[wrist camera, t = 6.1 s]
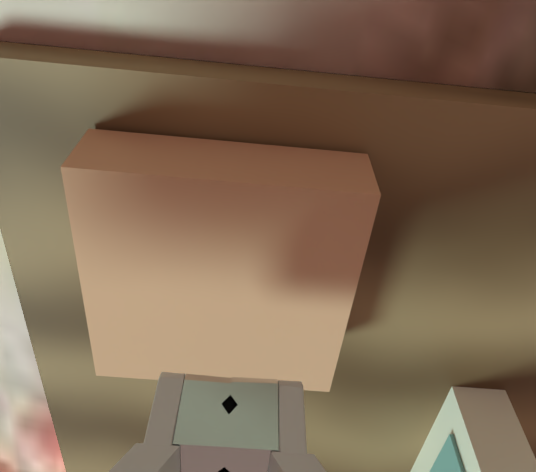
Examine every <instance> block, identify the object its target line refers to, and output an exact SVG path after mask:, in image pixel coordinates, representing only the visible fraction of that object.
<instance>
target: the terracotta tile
mask: <svg viewBox="0 0 536 472" xmlns="http://www.w3.org/2000/svg"><path fill="white" fill-rule="evenodd" d="M61 173H62V179H63V185H64V191H65V197H66V202H67V208H68V214H69V220H70V226H71V232H72V238H73V244H74V249H75V255H76V261H77V267H78V273H79V279H80V285H81V291H82V296H83V302H84V308H85V314H86V320H87V326H88V332H89V337H90V343H91V349H92V355H93V361H94V367H95V373H96V376H108V377H122V378H136V379H151V380H158V379H159V377H160V374H161V372H172V373H185V374H195V375H206V376H217V377H227V378H232V377H243V378H261V379H277V380H285V381H301V382H302V384H303V390H308V391H322V392H329V391H330V388H331V384H332V380H333V376H334V372H335V369H336V365H337V361H338V357H339V353H340V350H341V346H342V342H343V338H344V334H345V330H346V327H347V323H348V319H349V315H350V311H351V308H352V304H353V300H354V296H355V292H356V289H357V285H358V281H359V277H360V273H361V270H362V266H363V262H364V258H365V254H366V250H367V247H368V243H369V239H370V235H371V231H372V228H373V224H374V220H375V216H376V212H377V209H378V205H379V201H380V197H381V193H380V190H379V187H378V184H377V181H376V178H375V175H374V171H373V168H372V165H371V162H370V159H369V156H368V154H364V153H353V152H342V151H331V150H320V149H309V148H298V147H287V146H276V145H265V144H254V143H243V142H232V141H221V140H210V139H199V138H188V137H177V136H166V135H155V134H144V133H133V132H122V131H111V130H100V129H88V130H87V131H86V133H85V134H84V136H83V137H82V138H81V140H80V141H79V142H78V144H77V145H76V146H75V148H74V149H73V151H72V152H71V153H70V155H69V156H68V157H67V159H66V160H65V161H64V163H63V164H62V165H61Z"/></svg>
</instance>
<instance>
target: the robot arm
mask: <svg viewBox="0 0 536 472" xmlns="http://www.w3.org/2000/svg"><path fill="white" fill-rule="evenodd" d="M109 472H326V471H325V469H324V468H323V466H322V465H321V463H320V462H319V460H318V459H317V458H316V456H315V455H314V454H308V453H307V443H306V426H305V408H304V390H303V384H302V382H301V381H285V380H277V379H261V378H243V377H232V378H227V377H217V376H206V375H195V374H185V373H172V372H161V374H160V377H159V379H158V383H157V387H156V391H155V396H154V400H153V404H152V409H151V413H150V417H149V421H148V426H147V430H146V434H145V439H144V443H136V444H135V445H134V446H133V447H132V448H131V449H130V450H129V451H128V452H127V453H126V454H125V455H124V456H123V457H122V458H121V459H120V460H119V461H118V462H117V463H116V464H115V465H114V466H113V467H112V468H111V469H110V470H109Z"/></svg>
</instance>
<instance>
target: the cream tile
mask: <svg viewBox="0 0 536 472" xmlns="http://www.w3.org/2000/svg"><path fill="white" fill-rule="evenodd" d="M410 472H536V459H535V456H534V454H533V452H532V449H531V447H530V445H529V443H528V440H527V438H526V436H525V434H524V431H523V429H522V427H521V425H520V422H519V420H518V418H517V415H516V413H515V411H514V409H513V406H512V404H511V402H510V400H509V397H508V395H507V393H506V391H505V390H497V389H483V388H469V387H455V386H452V387H451V389H450V391H449V393H448V395H447V397H446V399H445V401H444V403H443V406H442V408H441V410H440V412H439V414H438V416H437V418H436V420H435V422H434V424H433V426H432V428H431V430H430V432H429V434H428V436H427V438H426V440H425V442H424V445H423V447H422V449H421V451H420V453H419V455H418V457H417V459H416V461H415V463H414V465H413V467H412V469H411V471H410Z"/></svg>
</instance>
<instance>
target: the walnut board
mask: <svg viewBox="0 0 536 472" xmlns="http://www.w3.org/2000/svg"><path fill="white" fill-rule="evenodd" d="M88 129H100V130H111V131H122V132H133V133H144V134H155V135H166V136H177V137H188V138H199V139H210V140H221V141H232V142H243V143H254V144H265V145H276V146H287V147H298V148H309V149H320V150H331V151H342V152H353V153H364V154H368V156H369V159H370V162H371V165H372V168H373V171H374V175H375V178H376V181H377V184H378V187H379V190H380V193H381V197H380V201H379V205H378V209H377V212H376V216H375V220H374V224H373V228H372V231H371V235H370V239H369V243H368V247H367V250H366V254H365V258H364V262H363V266H362V270H361V273H360V277H359V281H358V285H357V289H356V292H355V296H354V300H353V304H352V308H351V311H350V315H349V319H348V323H347V327H346V330H345V334H344V338H343V342H342V346H341V350H340V353H339V357H338V361H337V365H336V369H335V372H334V376H333V380H332V384H331V388H330V391H329V392H322V391H308V390H304V408H305V426H306V443H307V453H308V454H314V455H315V456H316V458H317V459H318V460H319V462H320V463H321V465H322V466H323V468H324V469H325V471H326V472H410V471H411V469H412V467H413V465H414V463H415V461H416V459H417V457H418V455H419V453H420V451H421V449H422V447H423V445H424V442H425V440H426V438H427V436H428V434H429V432H430V430H431V428H432V426H433V424H434V422H435V420H436V418H437V416H438V414H439V412H440V410H441V408H442V406H443V403H444V401H445V399H446V397H447V395H448V393H449V391H450V389H451V387H452V386H455V387H469V388H483V389H497V390H505V391H506V393H507V395H508V397H509V400H510V402H511V404H512V406H513V409H514V411H515V413H516V415H517V418H518V420H519V422H520V425H521V427H522V429H523V431H524V434H525V436H526V438H527V440H528V443H529V445H530V447H531V449H532V452H533V454H534V456H535V459H536V93H526V92H515V91H505V90H495V89H485V88H474V87H464V86H454V85H443V84H433V83H423V82H413V81H402V80H392V79H382V78H371V77H361V76H351V75H341V74H330V73H320V72H310V71H299V70H289V69H279V68H269V67H258V66H248V65H238V64H228V63H217V62H207V61H197V60H186V59H176V58H166V57H156V56H145V55H135V54H125V53H114V52H104V51H94V50H84V49H73V48H63V47H53V46H42V45H32V44H22V43H12V42H1V41H0V229H1V233H2V237H3V240H4V244H5V248H6V251H7V255H8V259H9V262H10V266H11V270H12V273H13V277H14V281H15V284H16V288H17V292H18V296H19V299H20V303H21V307H22V310H23V314H24V318H25V321H26V325H27V329H28V332H29V336H30V340H31V343H32V347H33V351H34V354H35V358H36V362H37V365H38V369H39V373H40V376H41V380H42V384H43V387H44V391H45V395H46V399H47V402H48V406H49V410H50V413H51V417H52V421H53V424H54V428H55V432H56V435H57V439H58V443H59V446H60V450H61V454H62V457H63V461H64V465H65V468H66V472H109V470H110V469H111V468H112V467H113V466H114V465H115V464H116V463H117V462H118V461H119V460H120V459H121V458H122V457H123V456H124V455H125V454H126V453H127V452H128V451H129V450H130V449H131V448H132V447H133V446H134V445H135V444H136V443H144V439H145V434H146V430H147V426H148V421H149V417H150V413H151V409H152V404H153V400H154V396H155V391H156V387H157V383H158V380H151V379H136V378H122V377H108V376H96V373H95V367H94V361H93V355H92V349H91V343H90V337H89V332H88V326H87V320H86V314H85V308H84V302H83V296H82V291H81V285H80V279H79V273H78V267H77V261H76V255H75V249H74V244H73V238H72V232H71V226H70V220H69V214H68V208H67V202H66V197H65V191H64V185H63V179H62V173H61V165H62V164H63V163H64V161H65V160H66V159H67V157H68V156H69V155H70V153H71V152H72V151H73V149H74V148H75V146H76V145H77V144H78V142H79V141H80V140H81V138H82V137H83V136H84V134H85V133H86V131H87V130H88Z"/></svg>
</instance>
